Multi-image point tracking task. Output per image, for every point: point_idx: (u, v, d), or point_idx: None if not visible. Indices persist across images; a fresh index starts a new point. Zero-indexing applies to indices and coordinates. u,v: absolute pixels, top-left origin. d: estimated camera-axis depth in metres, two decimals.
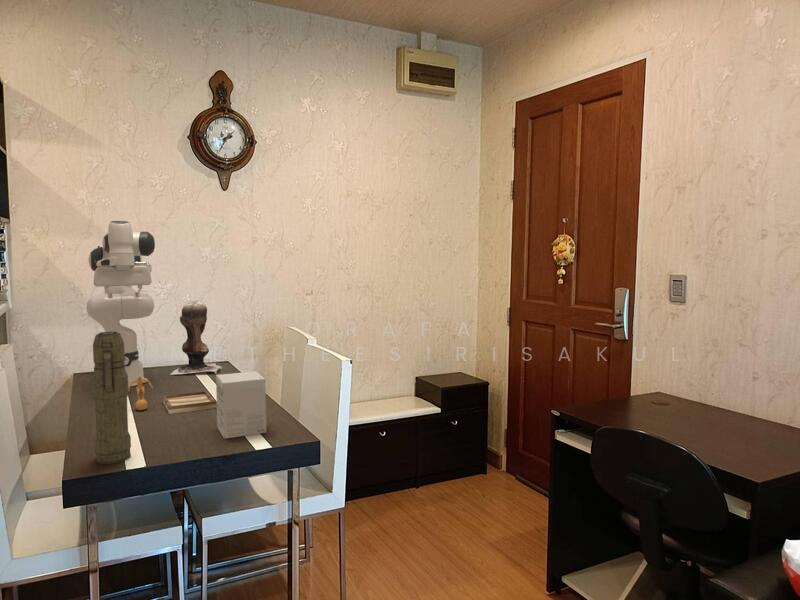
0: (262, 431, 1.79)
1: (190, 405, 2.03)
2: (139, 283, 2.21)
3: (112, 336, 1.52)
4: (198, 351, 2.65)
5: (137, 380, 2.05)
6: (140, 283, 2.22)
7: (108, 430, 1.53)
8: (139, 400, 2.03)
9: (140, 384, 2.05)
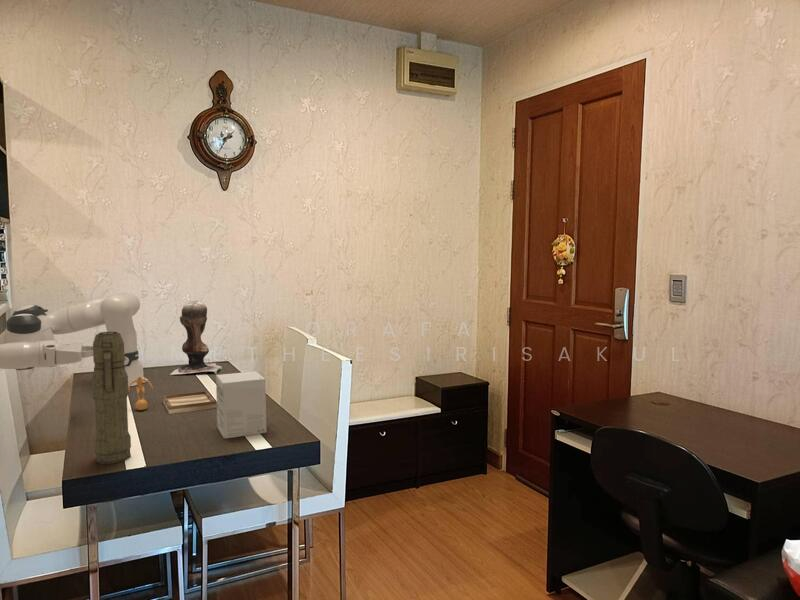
0: (262, 431, 1.79)
1: (190, 405, 2.03)
2: (80, 344, 1.99)
3: (112, 336, 1.52)
4: (198, 351, 2.65)
5: (137, 380, 2.05)
6: (80, 344, 2.00)
7: (108, 430, 1.53)
8: (139, 400, 2.03)
9: (140, 384, 2.05)
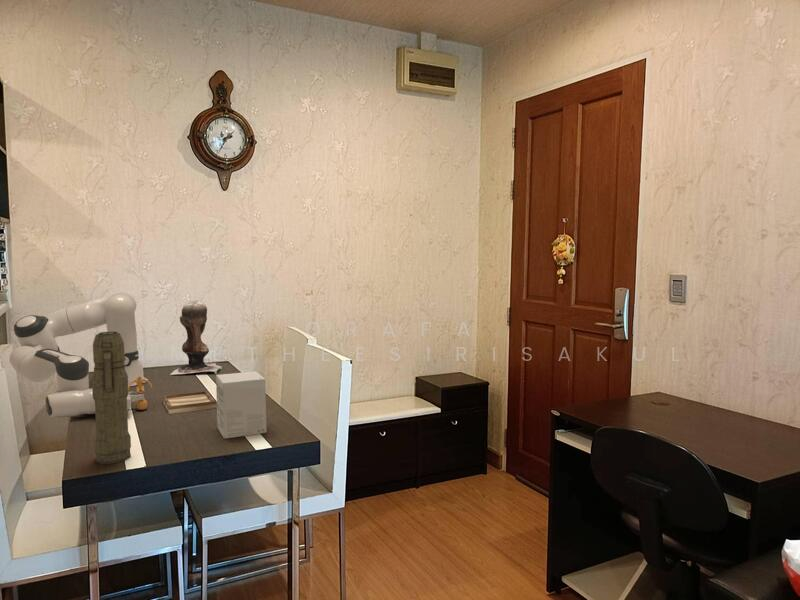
0: (262, 431, 1.79)
1: (190, 405, 2.03)
2: None
3: (112, 336, 1.52)
4: (198, 351, 2.65)
5: (137, 380, 2.05)
6: None
7: (108, 430, 1.53)
8: None
9: (140, 384, 2.05)
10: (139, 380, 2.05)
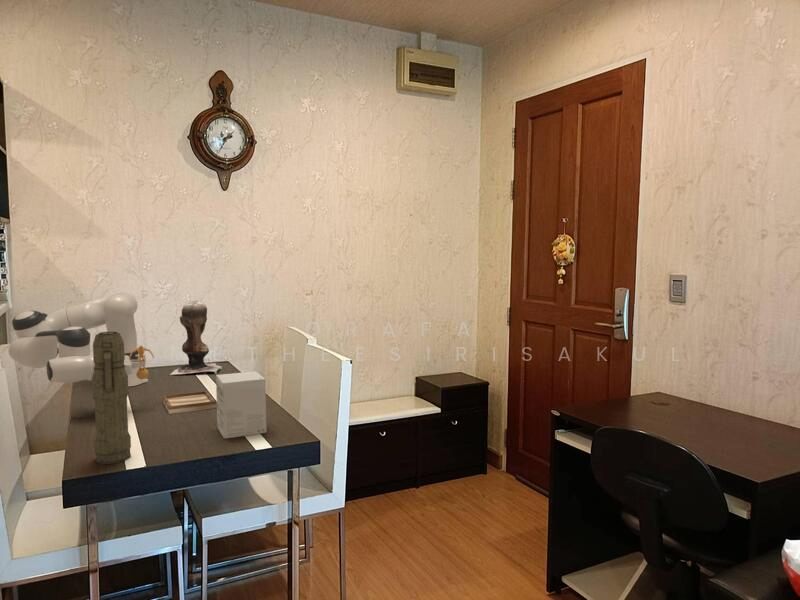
0: (262, 431, 1.79)
1: (190, 405, 2.03)
2: (127, 356, 2.06)
3: (112, 336, 1.52)
4: (198, 351, 2.65)
5: (138, 349, 2.04)
6: (127, 356, 2.07)
7: (108, 430, 1.53)
8: (140, 369, 2.02)
9: (141, 353, 2.04)
10: (140, 349, 2.04)
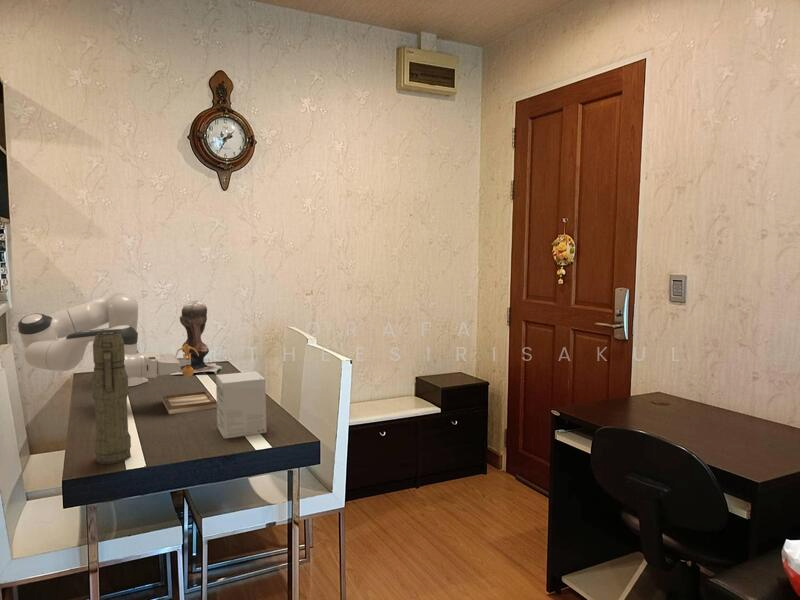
0: (262, 431, 1.79)
1: (190, 405, 2.03)
2: (172, 355, 2.12)
3: (112, 336, 1.52)
4: (198, 351, 2.65)
5: (184, 347, 2.10)
6: (172, 355, 2.13)
7: (108, 430, 1.53)
8: (186, 367, 2.08)
9: (187, 351, 2.10)
10: (186, 348, 2.10)
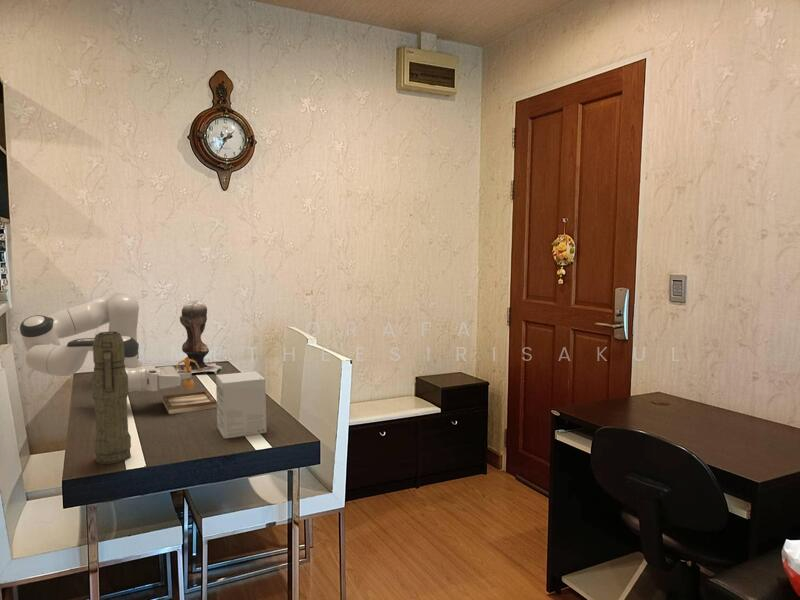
0: (262, 431, 1.79)
1: (190, 405, 2.03)
2: (173, 367, 2.12)
3: (112, 336, 1.52)
4: (198, 351, 2.65)
5: (184, 360, 2.10)
6: (173, 367, 2.13)
7: (108, 430, 1.53)
8: (186, 380, 2.09)
9: (187, 364, 2.10)
10: (187, 361, 2.10)
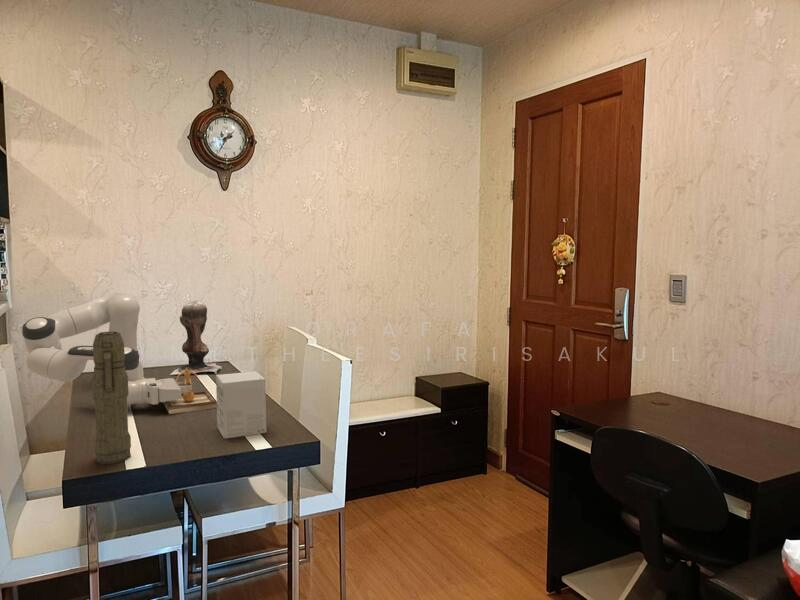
0: (262, 431, 1.79)
1: (190, 405, 2.03)
2: (173, 380, 2.13)
3: (112, 336, 1.52)
4: (198, 351, 2.65)
5: (184, 372, 2.11)
6: (173, 379, 2.13)
7: (108, 430, 1.53)
8: (186, 392, 2.09)
9: (187, 376, 2.11)
10: (187, 373, 2.11)
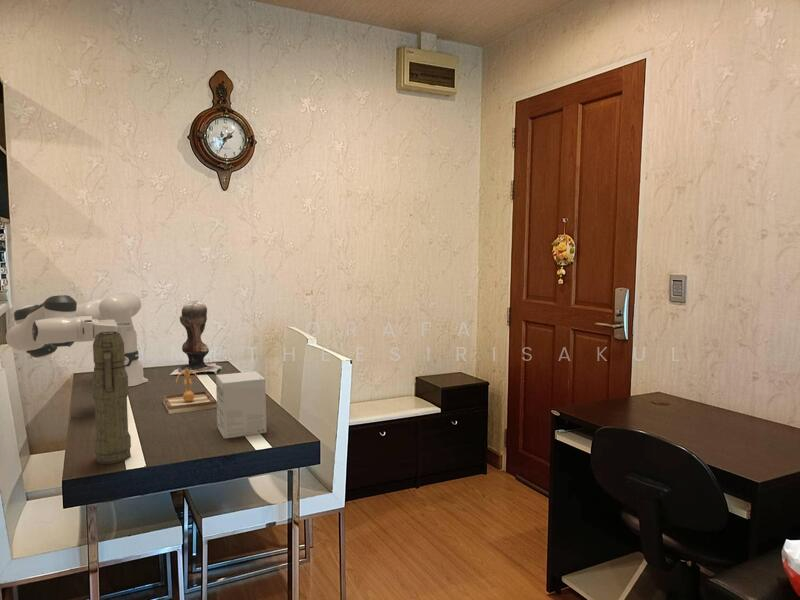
0: (262, 431, 1.79)
1: (190, 405, 2.03)
2: (113, 320, 2.07)
3: (112, 336, 1.52)
4: (198, 351, 2.65)
5: (184, 372, 2.11)
6: (113, 320, 2.07)
7: (108, 430, 1.53)
8: (186, 392, 2.09)
9: (187, 376, 2.11)
10: (187, 373, 2.11)
